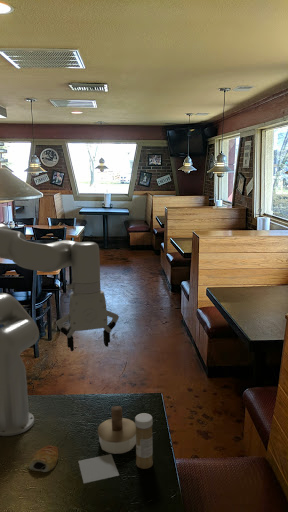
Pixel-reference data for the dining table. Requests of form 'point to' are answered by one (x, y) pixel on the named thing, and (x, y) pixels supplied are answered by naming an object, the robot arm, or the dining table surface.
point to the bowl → (118, 445)
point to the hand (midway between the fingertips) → (89, 347)
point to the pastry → (44, 459)
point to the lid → (117, 427)
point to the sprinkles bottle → (144, 440)
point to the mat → (98, 468)
